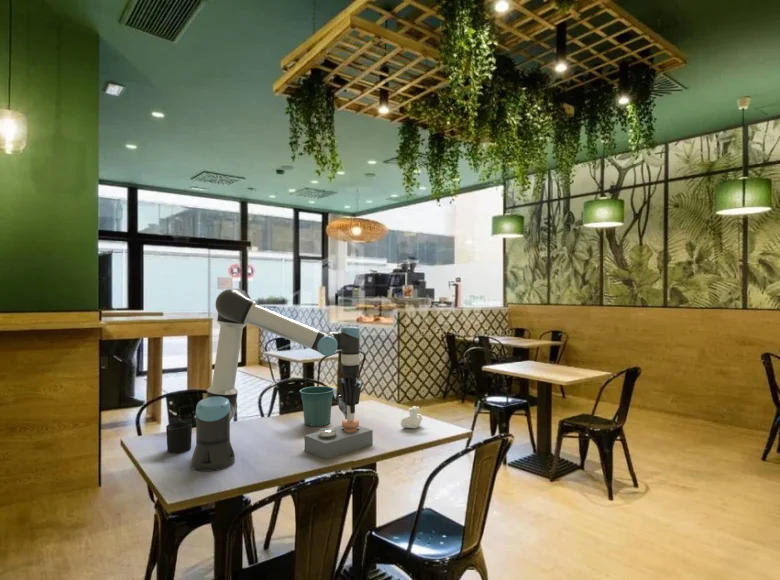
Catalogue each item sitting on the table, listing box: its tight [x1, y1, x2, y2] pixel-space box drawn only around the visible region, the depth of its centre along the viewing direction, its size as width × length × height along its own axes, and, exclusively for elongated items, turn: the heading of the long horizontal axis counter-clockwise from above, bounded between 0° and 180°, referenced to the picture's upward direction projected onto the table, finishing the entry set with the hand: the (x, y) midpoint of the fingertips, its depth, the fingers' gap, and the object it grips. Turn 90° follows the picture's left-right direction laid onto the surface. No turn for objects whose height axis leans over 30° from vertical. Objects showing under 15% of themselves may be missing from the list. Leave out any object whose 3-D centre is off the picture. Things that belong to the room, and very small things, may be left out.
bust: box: [400, 405, 423, 429], centre depth 220 cm, size 12×8×11 cm
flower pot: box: [299, 385, 335, 428], centre depth 227 cm, size 16×16×16 cm
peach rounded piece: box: [341, 418, 360, 433], centre depth 198 cm, size 7×7×7 cm
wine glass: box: [337, 394, 347, 420], centre depth 218 cm, size 8×8×15 cm
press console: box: [304, 424, 374, 460], centre depth 193 cm, size 24×14×6 cm, turn 135°
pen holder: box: [165, 421, 193, 454], centre depth 190 cm, size 9×9×10 cm
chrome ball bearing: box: [317, 427, 336, 439], centre depth 189 cm, size 7×7×7 cm
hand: (350, 420), depth 198 cm, fingers closed
